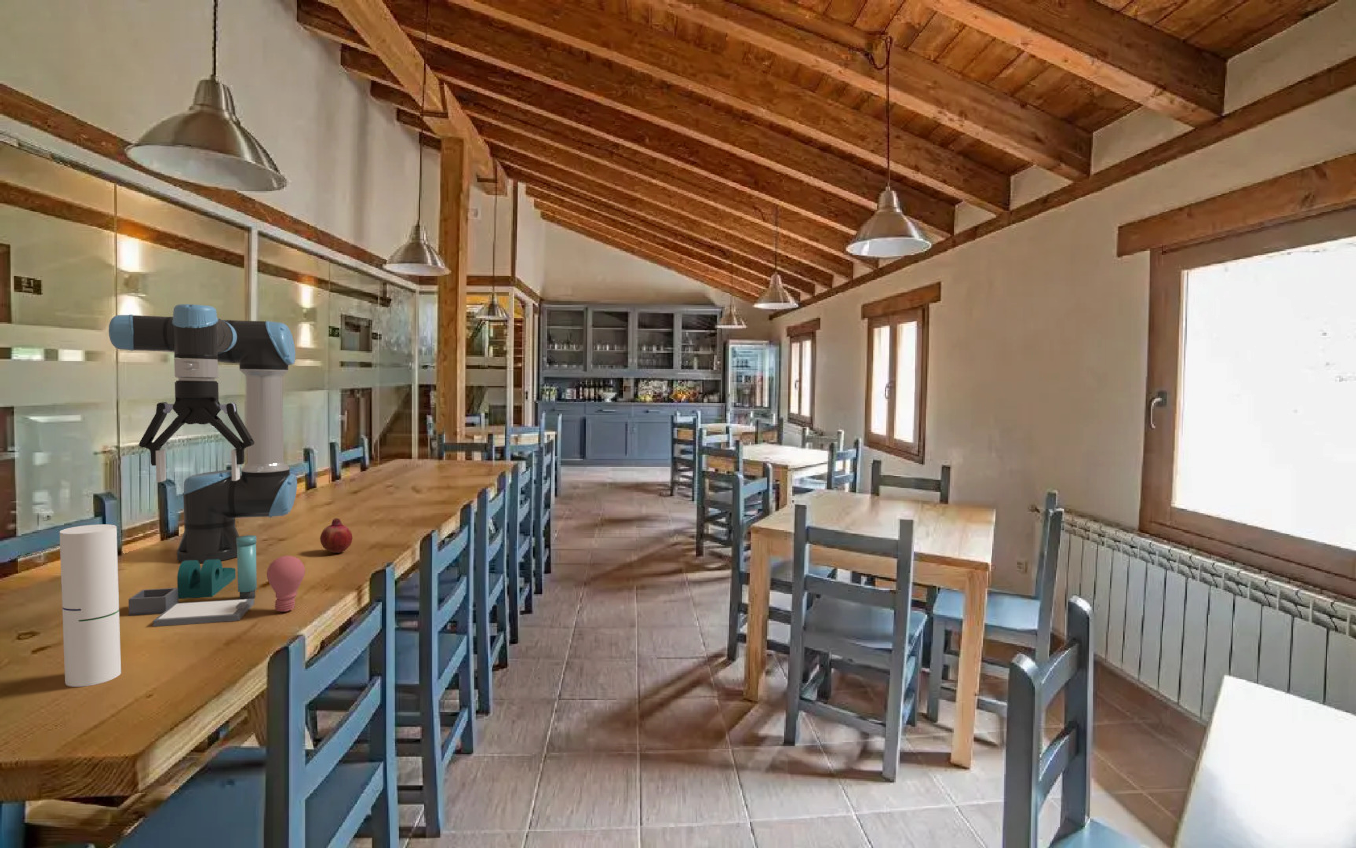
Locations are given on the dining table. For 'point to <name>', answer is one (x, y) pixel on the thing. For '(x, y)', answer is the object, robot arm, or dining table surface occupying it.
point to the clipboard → (204, 612)
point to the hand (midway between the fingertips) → (199, 480)
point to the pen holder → (152, 601)
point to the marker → (246, 566)
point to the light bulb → (285, 580)
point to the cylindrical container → (90, 604)
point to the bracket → (202, 578)
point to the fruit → (336, 537)
